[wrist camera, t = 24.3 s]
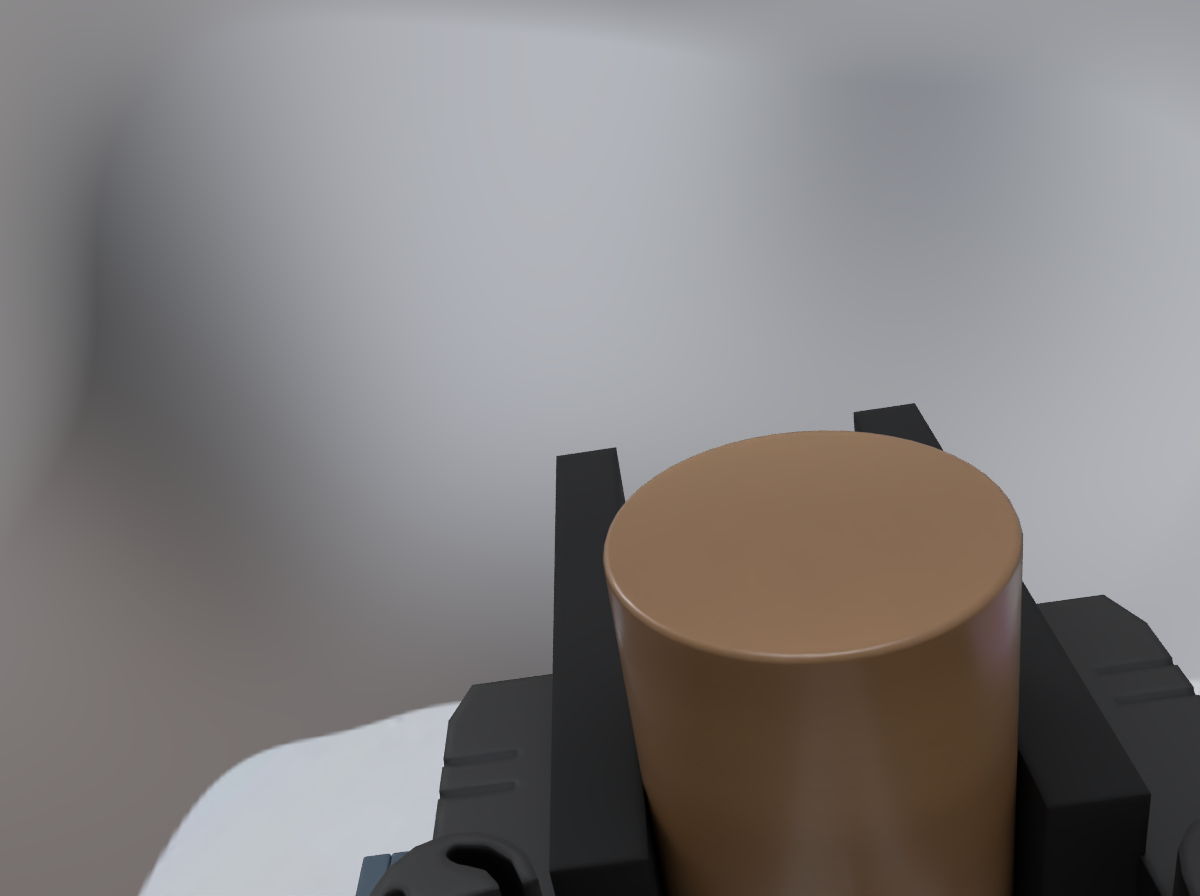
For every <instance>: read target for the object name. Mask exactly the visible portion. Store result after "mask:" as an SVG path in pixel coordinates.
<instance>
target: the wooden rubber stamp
mask: <svg viewBox="0 0 1200 896" xmlns="http://www.w3.org/2000/svg"><path fill="white" fill-rule="evenodd" d="M1022 559H1023V533H1022V529H1021V525H1020V521H1019V518H1018V516H1017V514H1016V512H1015V510H1014V508H1013V506H1012V504H1011V502H1010V500H1009V499H1008V497H1007V496H1006V495H1005V494H1004V493H1003V491H1002V490H1001V489H1000V487H999V486H998V485H997V484H996V483H994V482H993V481H992V480H991V479H990V478H989V477H988V476H987V475H986V474H984V473H983V472H981V471H980V470H978V469H977V468H975V467H974V466H972V465H971V464H969V463H967V462H965V461H963V460H961V459H959V458H957V457H956V456H954V455H951V454H949V453H947V452H944V451H942V450H939V449H937V448H934V447H931V446H928V445H925V444H921V443H918V442H915V441H911V440H906V439H902V438H897V437H893V436H887V435H880V434H873V433H865V432H852V431H802V432H791V433H781V434H773V435H768V436H762V437H756V438H751V439H746V440H742V441H738V442H734V443H730V444H726V445H724V446H720V447H717V448H714V449H711V450H708V451H705V452H703V453H700V454H698V455H695V456H693V457H690V458H688V459H686V460H684V461H682V462H680V463H678V464H676V465H674V466H672V467H670V468H668V469H667V470H665V471H663V472H662V473H660V474H658V475H657V476H655V477H654V478H652V479H651V480H650V481H648V482H647V483H646V484H644V485H643V486H642V487H640V488H639V489H638V490H637V491H636V492H635V493H634V494H633V495H632V496H631V497H630V498H629V499H628V500H627V501H626V502H625V504H624V505H623V506H622V507H621V509H620V510H619V511H618V513H617V514H616V516H615V518H614V520H613V522H612V523H611V525H610V528H609V531H608V534H607V537H606V540H605V544H604V552H603V565H604V571H605V577H606V583H607V588H608V594H609V599H610V605H611V610H612V616H613V621H614V627H615V633H616V638H617V644H618V649H619V655H620V660H621V666H622V671H623V677H624V682H625V688H626V693H627V699H628V704H629V710H630V715H631V721H632V726H633V732H634V737H635V743H636V748H637V754H638V759H639V765H640V770H641V776H642V781H643V787H644V792H645V798H646V803H647V809H648V814H649V820H650V825H651V831H652V836H653V841H654V847H655V852H656V858H657V863H658V869H659V874H660V880H661V885H662V891H663V896H1014V866H1015V828H1016V790H1017V751H1018V713H1019V675H1020V636H1021V598H1022Z"/></svg>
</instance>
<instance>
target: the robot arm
mask: <svg viewBox="0 0 1200 896" xmlns="http://www.w3.org/2000/svg"><path fill="white" fill-rule="evenodd" d="M854 428H855V432H865V433H873V434H880V435H887V436H893V437H897V438H902V439H906V440H911V441H915V442H918V443H921V444H925V445H928V446H931V447H934V448H937V449H939V450H942V451H943V449H942V448H941V446H940V444H939V443H938V441H937V439H936V438H935V436H934V435H933V433H932V431H931V429H930V428H929V426H928V424H927V423H926V421H925V420H924V418H923V416H922V415H921V413H920V411H919V410H918V408H917V406H916V405H915V404H914V403H913V404H907V405H900V406H893V407H887V408H880V409H873V410H866V411H860V412H854ZM556 463H557V464H556V516H555V520H556V521H555V572H554V573H555V575H554V628H553V674H549V675H542V676H534V677H527V678H520V679H513V680H505V681H498V682H491V683H484V684H476V685H472V686H471V688H470V689H469V691H468V692H467V694H466V696H465V697H464V699H463V700H462V702H461V703H460V705H459V706H458V708H457V709H456V711H455V712H454V714H453V715H452V717H451V718H450V720H449V722H448V730H447V737H446V745H445V752H444V767H442V775H441V782H440V790H439V792H440V799H438V805H437V812H436V820H435V827H434V834H433V840H431V841H429V842H426V843H424V844H421V845H419V846H416V847H414V848H413V849H412V850H411V851H409V852H408V853H407V854H405V855H404V856H403V857H401V858H400V859H399V860H398V861H396V862H395V863H394V864H392V865H391V866H390V867H389V868H388V869H387V870H386V872H385V873H384V875H383V876H382V877H381V879H380V880H379V882H378V883H377V885H376V886H375V887H374V889H373V890H372V892H371V893H370V896H663V891H662V885H661V880H660V874H659V869H658V863H657V858H656V852H655V847H654V841H653V836H652V831H651V825H650V820H649V814H648V809H647V803H646V798H645V792H644V787H643V781H642V776H641V770H640V765H639V759H638V754H637V748H636V743H635V737H634V732H633V726H632V721H631V715H630V710H629V704H628V699H627V693H626V688H625V682H624V677H623V671H622V666H621V660H620V655H619V649H618V644H617V638H616V633H615V627H614V621H613V616H612V610H611V605H610V599H609V594H608V588H607V583H606V577H605V571H604V565H603V552H604V544H605V540H606V537H607V534H608V531H609V528H610V525H611V523H612V522H613V520H614V518H615V516H616V514H617V513H618V511H619V510H620V509H621V507H622V506H623V505H624V504H625V498H624V492H623V486H622V480H621V474H620V469H619V462H618V456H617V451H616V448H609V449H603V450H595V451H589V452H582V453H575V454H568V455H561V456H557V461H556ZM1014 896H1200V695H1195V693H1194V687H1193V686H1192V684H1191V683H1190V682H1189V680H1188V679H1187V678H1186V676H1185V675H1184V674H1183V672H1182V671H1181V669H1180V668H1179V667H1178V665H1174V664H1173V661H1172V657H1171V656H1170V654H1169V653H1168V652H1167V650H1166V649H1165V647H1164V646H1163V645H1162V643H1161V642H1160V641H1159V639H1158V638H1157V637H1156V635H1155V634H1154V633H1153V631H1152V630H1151V628H1150V627H1149V626H1148V624H1147V623H1146V622H1145V621H1143V620H1142V619H1140V618H1139V617H1137V616H1135V615H1134V614H1132V613H1131V612H1129V611H1128V610H1126V609H1125V608H1123V607H1122V606H1120V605H1118V604H1117V603H1115V602H1114V601H1112V600H1111V599H1109V598H1108V597H1106V596H1105V595H1098V596H1091V597H1084V598H1076V599H1069V600H1062V601H1054V602H1047V603H1040V604H1036V603H1035V601H1034V599H1033V598H1032V596H1031V595H1030V593H1029V591H1028V589H1027V588H1026V586H1025V585H1024V583H1023V582H1022V598H1021V636H1020V675H1019V713H1018V751H1017V790H1016V828H1015V866H1014Z"/></svg>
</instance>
